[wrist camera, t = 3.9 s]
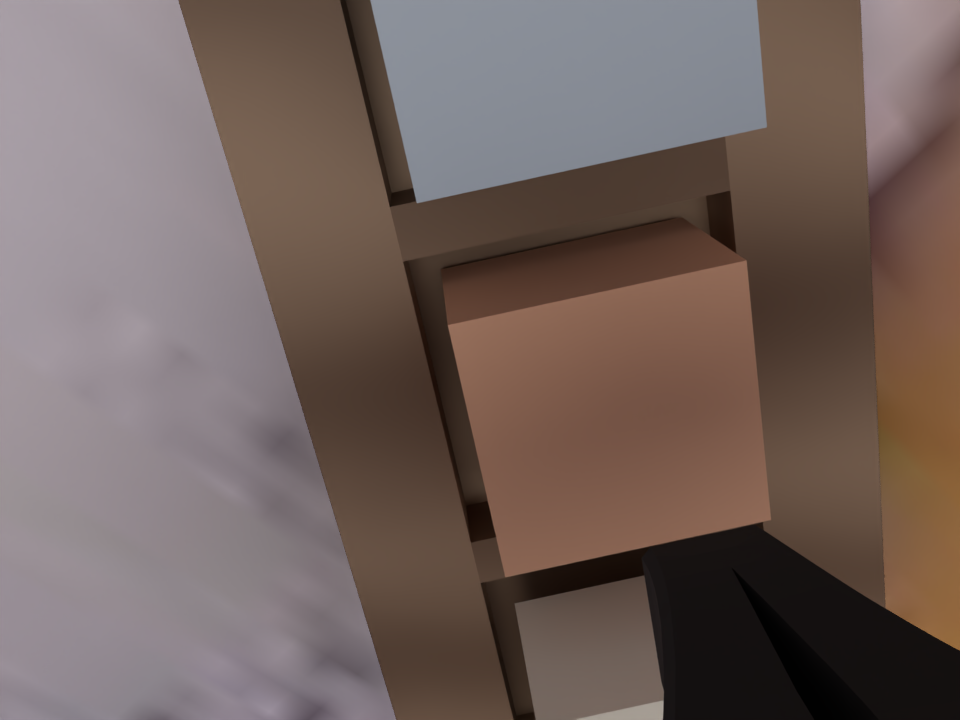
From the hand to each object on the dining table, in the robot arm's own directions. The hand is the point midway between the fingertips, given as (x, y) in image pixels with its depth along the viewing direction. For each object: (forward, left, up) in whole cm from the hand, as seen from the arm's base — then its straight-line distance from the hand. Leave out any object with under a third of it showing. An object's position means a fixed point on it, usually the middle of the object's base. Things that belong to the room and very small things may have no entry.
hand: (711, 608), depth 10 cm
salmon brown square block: (0, 0, -8) cm, 8 cm away
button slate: (+7, 0, -7) cm, 10 cm away
